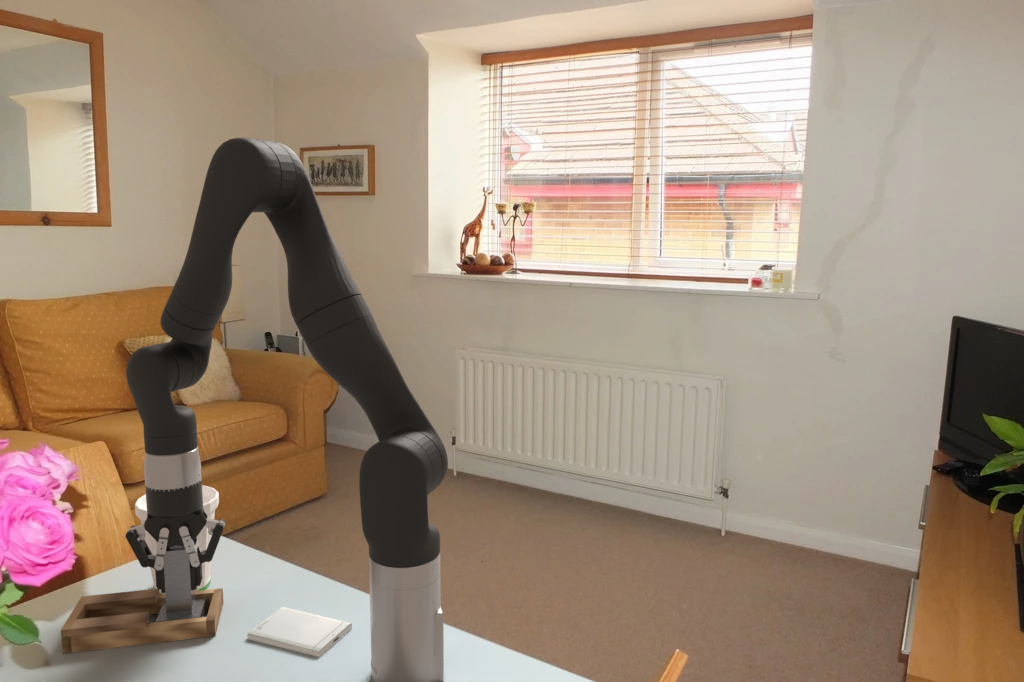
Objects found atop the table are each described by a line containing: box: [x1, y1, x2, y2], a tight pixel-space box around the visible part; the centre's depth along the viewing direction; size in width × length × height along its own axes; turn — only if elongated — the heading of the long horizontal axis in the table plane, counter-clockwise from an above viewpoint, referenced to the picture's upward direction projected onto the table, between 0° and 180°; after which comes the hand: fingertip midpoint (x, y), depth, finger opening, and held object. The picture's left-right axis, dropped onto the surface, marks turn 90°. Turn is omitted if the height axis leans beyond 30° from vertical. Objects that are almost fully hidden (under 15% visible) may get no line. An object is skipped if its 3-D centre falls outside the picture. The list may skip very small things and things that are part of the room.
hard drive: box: [247, 606, 353, 658], centre depth 111 cm, size 2×8×12 cm
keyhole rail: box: [60, 587, 225, 654], centre depth 112 cm, size 20×10×4 cm, turn 104°
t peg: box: [155, 546, 207, 622], centre depth 113 cm, size 6×6×11 cm
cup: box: [134, 484, 220, 594], centre depth 124 cm, size 12×12×15 cm
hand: (180, 588), depth 113 cm, fingers closed on t peg, 3 cm apart
